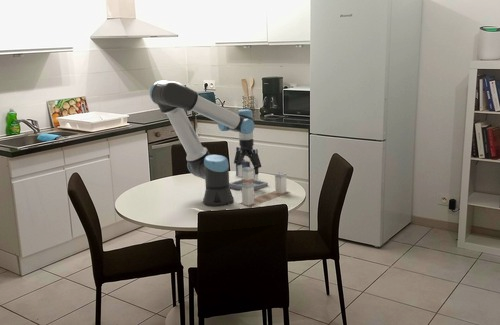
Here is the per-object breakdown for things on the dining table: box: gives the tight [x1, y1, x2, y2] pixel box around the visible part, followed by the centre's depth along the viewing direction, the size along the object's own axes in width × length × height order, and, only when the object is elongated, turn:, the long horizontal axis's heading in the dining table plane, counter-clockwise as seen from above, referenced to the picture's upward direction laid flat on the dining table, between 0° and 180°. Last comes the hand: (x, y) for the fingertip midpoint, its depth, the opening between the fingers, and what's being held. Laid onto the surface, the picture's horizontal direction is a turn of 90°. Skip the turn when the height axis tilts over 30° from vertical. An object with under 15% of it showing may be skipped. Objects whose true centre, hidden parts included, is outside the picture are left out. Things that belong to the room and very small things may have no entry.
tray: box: [229, 178, 269, 191], centre depth 276 cm, size 14×16×2 cm
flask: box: [235, 157, 251, 177], centre depth 300 cm, size 9×3×11 cm, turn 65°
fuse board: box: [238, 190, 291, 208], centre depth 254 cm, size 30×8×1 cm, turn 135°
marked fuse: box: [242, 166, 254, 184], centre depth 275 cm, size 4×4×10 cm
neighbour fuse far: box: [274, 171, 288, 194], centre depth 261 cm, size 4×4×10 cm
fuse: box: [241, 182, 255, 207], centre depth 244 cm, size 4×4×10 cm
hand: (247, 178), depth 275 cm, fingers open, 11 cm apart
